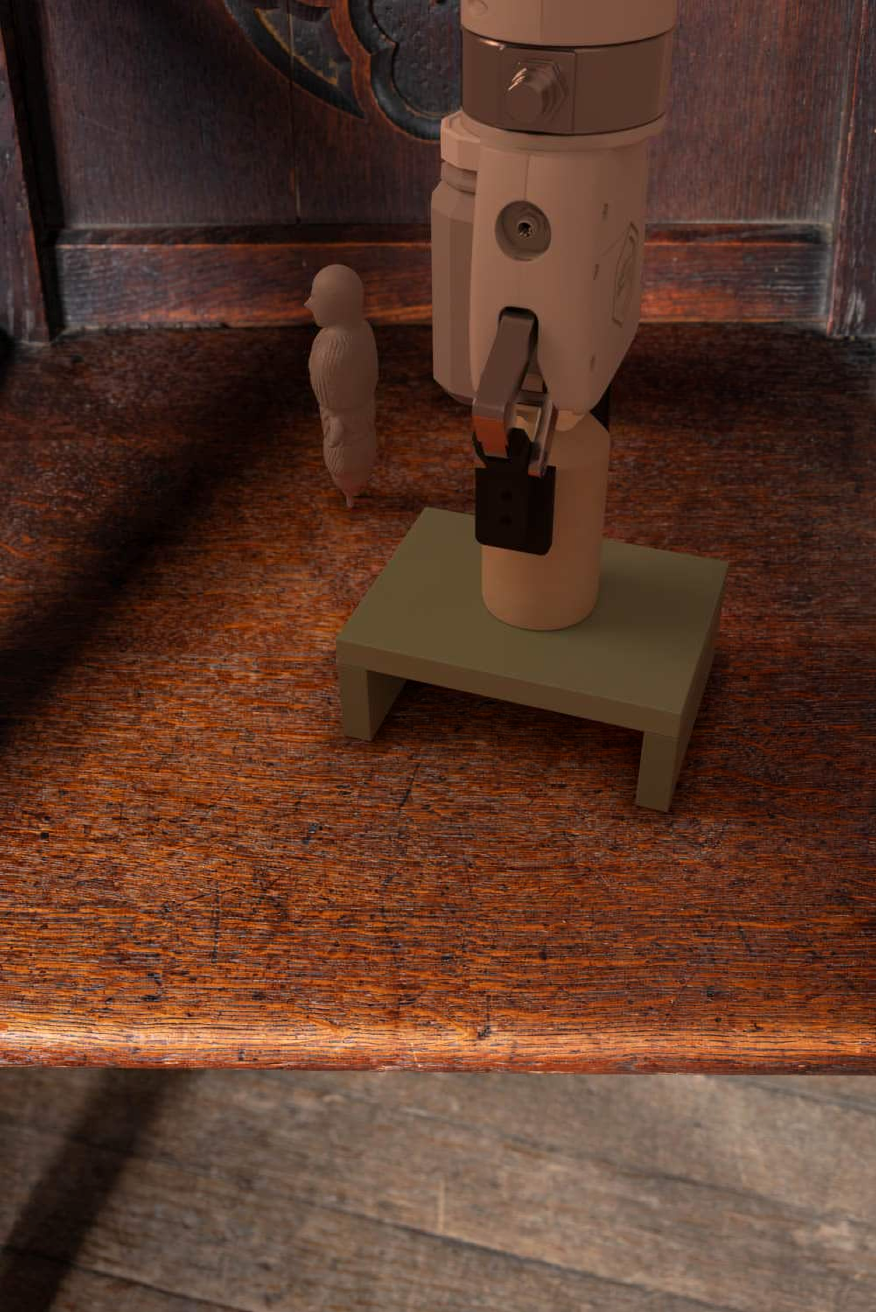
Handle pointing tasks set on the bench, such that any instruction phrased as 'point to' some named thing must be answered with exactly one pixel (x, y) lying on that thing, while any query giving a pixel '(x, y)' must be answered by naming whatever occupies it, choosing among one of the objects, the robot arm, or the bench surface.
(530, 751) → the bench surface
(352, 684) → the shelf
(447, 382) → the jar
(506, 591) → the candle
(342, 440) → the figurine
